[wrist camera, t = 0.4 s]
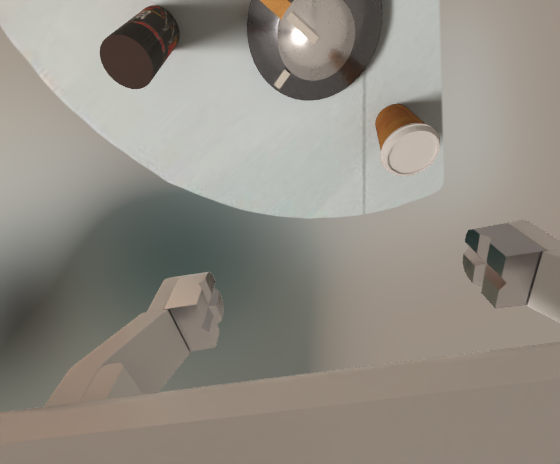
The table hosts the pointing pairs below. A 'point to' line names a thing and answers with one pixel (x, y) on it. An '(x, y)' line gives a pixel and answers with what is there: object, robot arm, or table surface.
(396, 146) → the disposable coffee cup
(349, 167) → the table surface
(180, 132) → the table surface
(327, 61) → the dial
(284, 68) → the plate
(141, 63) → the deodorant
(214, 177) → the table surface
